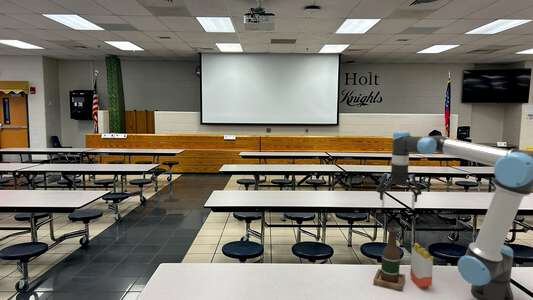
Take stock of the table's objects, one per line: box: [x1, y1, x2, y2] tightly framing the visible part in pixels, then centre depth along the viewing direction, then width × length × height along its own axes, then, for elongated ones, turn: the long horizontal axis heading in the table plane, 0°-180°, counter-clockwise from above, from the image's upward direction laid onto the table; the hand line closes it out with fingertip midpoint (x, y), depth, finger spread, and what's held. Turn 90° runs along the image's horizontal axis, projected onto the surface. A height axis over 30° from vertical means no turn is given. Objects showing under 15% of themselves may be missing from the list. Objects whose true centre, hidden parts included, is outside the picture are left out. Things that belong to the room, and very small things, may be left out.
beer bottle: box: [380, 227, 401, 284], centre depth 158 cm, size 8×8×24 cm
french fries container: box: [409, 242, 434, 289], centre depth 157 cm, size 5×11×18 cm, turn 5°
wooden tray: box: [372, 268, 406, 293], centre depth 160 cm, size 12×12×2 cm
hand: (397, 207), depth 169 cm, fingers open, 13 cm apart
